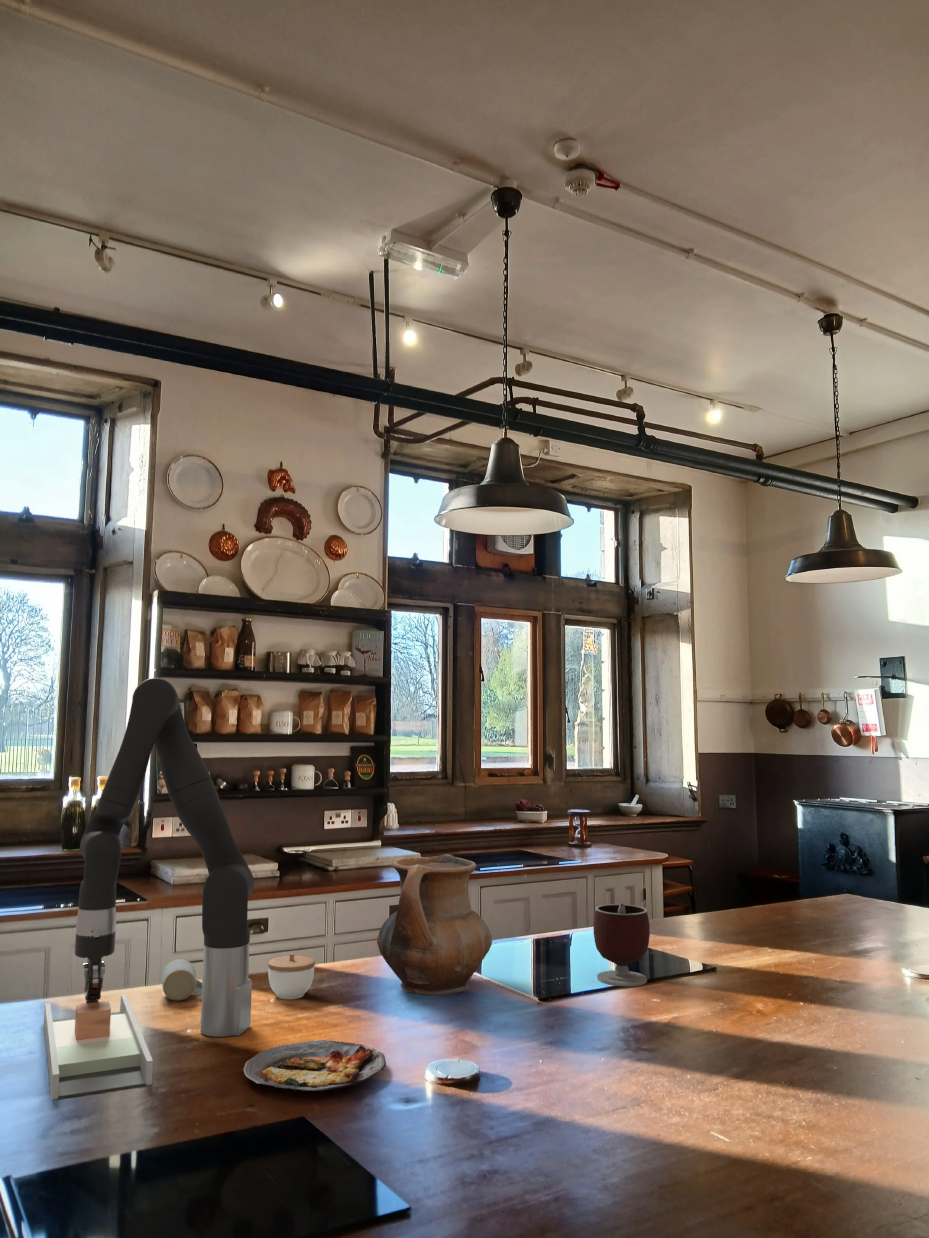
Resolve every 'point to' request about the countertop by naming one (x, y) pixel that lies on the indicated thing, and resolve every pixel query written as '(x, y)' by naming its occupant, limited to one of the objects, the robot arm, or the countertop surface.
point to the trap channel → (64, 1035)
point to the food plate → (315, 1065)
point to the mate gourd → (621, 941)
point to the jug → (434, 927)
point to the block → (92, 1020)
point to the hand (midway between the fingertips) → (91, 1019)
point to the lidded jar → (291, 975)
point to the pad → (97, 1056)
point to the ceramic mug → (180, 980)
